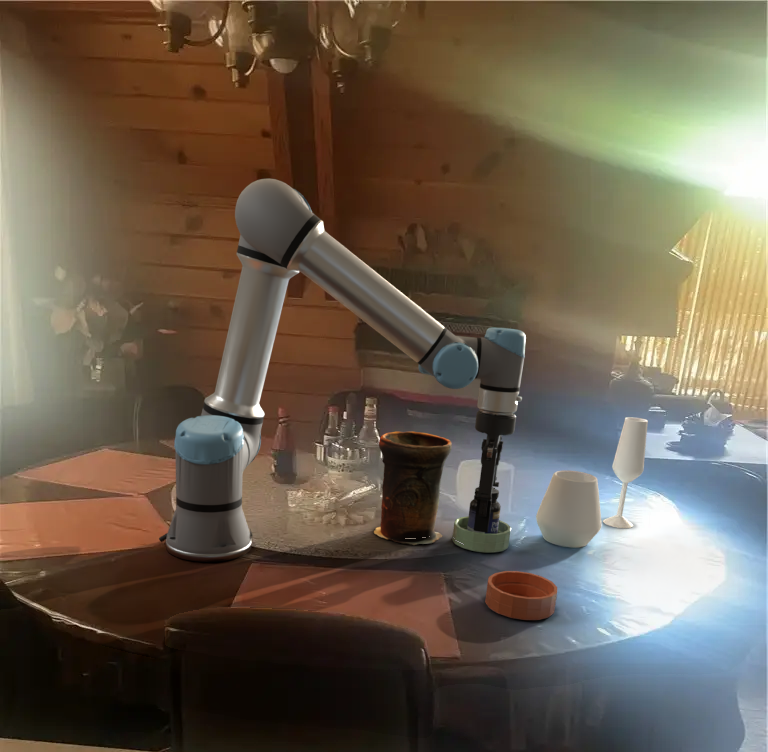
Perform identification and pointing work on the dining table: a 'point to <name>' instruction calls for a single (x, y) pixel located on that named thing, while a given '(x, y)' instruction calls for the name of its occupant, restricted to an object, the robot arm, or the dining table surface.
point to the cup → (570, 509)
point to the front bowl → (521, 595)
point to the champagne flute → (628, 462)
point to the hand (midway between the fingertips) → (482, 524)
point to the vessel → (411, 485)
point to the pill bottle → (493, 513)
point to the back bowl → (481, 537)
